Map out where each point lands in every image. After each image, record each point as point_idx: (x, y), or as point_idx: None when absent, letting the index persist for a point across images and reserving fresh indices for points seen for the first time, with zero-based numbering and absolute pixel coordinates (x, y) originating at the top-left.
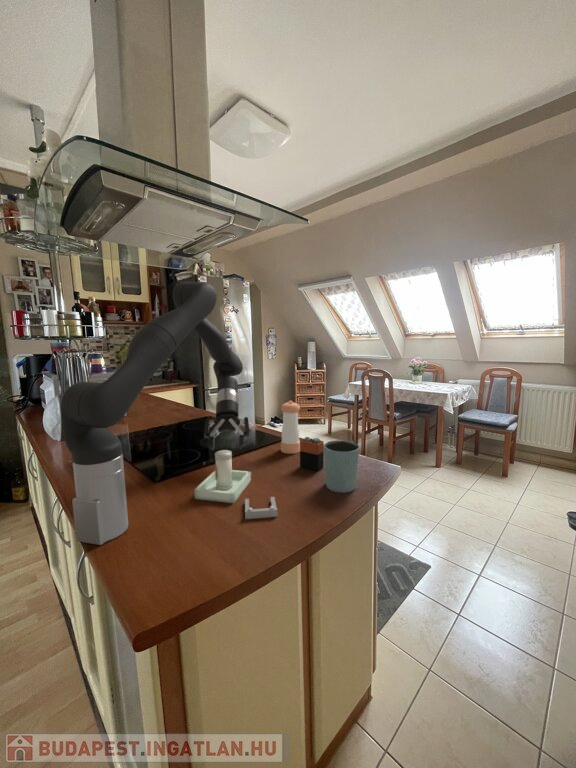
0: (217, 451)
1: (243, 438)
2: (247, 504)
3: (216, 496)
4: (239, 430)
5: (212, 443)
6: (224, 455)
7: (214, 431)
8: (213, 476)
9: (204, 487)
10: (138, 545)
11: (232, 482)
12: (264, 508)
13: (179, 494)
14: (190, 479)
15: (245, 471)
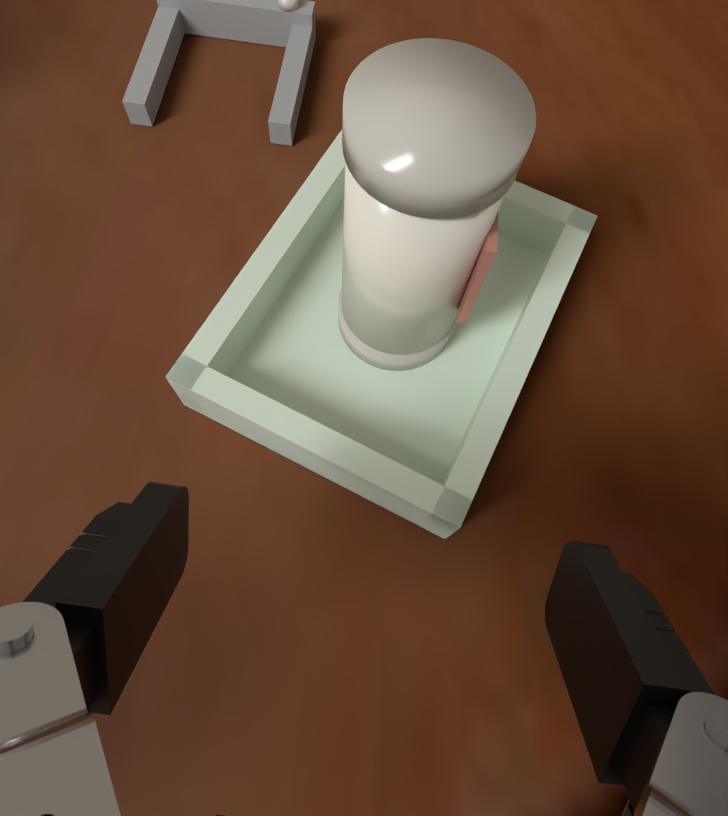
0: (510, 159)
1: (45, 577)
2: (288, 76)
3: None
4: (14, 716)
5: (610, 583)
6: (429, 46)
7: (702, 810)
8: (483, 399)
9: (533, 289)
10: (719, 13)
11: (340, 291)
12: (216, 1)
13: (677, 332)
14: (658, 545)
15: (211, 392)
